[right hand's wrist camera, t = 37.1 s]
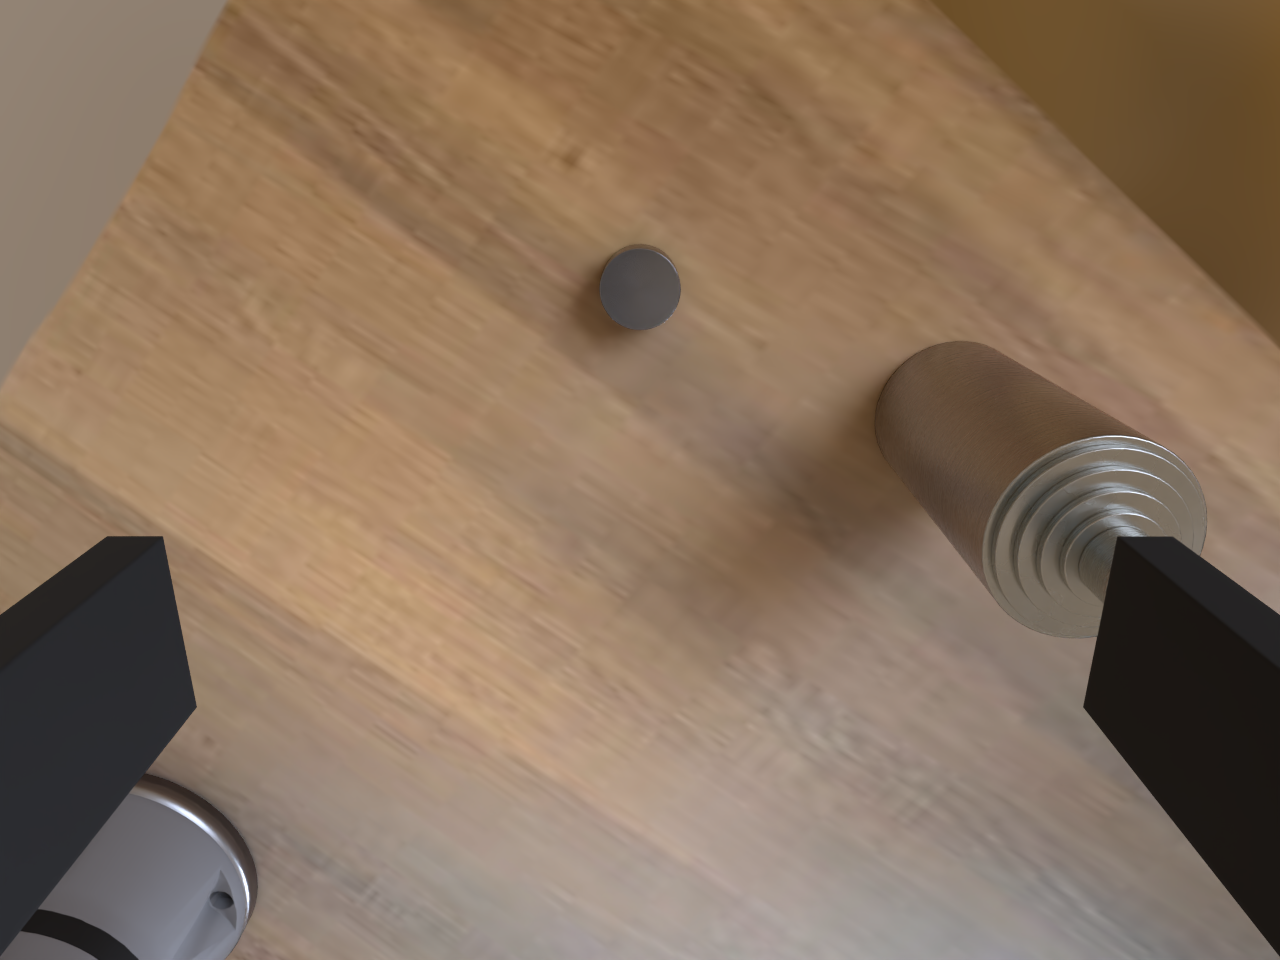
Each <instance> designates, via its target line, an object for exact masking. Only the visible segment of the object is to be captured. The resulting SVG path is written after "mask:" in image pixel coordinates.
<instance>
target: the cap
mask: <svg viewBox="0 0 1280 960" xmlns="http://www.w3.org/2000/svg"><path fill="white" fill-rule="evenodd" d="M680 292H681V287H680V279H679V276H678V273H677V270H676V267H675V265H674V263H673V262H672V260H671V259H670V258H669V257H668V256H667V255H666V254H665V253H664V252H662V251H661V250H659V249H658V248H656V247H653V246H650V245H644V244H636V245H630V246H627V247H625V248H623V249H621V250H619V251H618V252H616V253H615V254H614V255H613V256H612V257H611V258H610V259H609V261H608V262H607V264H606V266H605V268H604V270H603V273H602V277H601V281H600V298H601V302H602V304H603V307H604V309H605V310H606V312H607V313H608V315H609V316H610V317H611V318H612V319H613V320H614V321H615V322H617V323H618V324H620V325H622V326H624V327H626V328H629V329H633V330H647V329H651V328H654V327H657V326H659V325H660V324H662V323H664V322H665V321H666V320H667V319H668V318H669V317H670V316H671V315H672V314H673V312H674V311H675V309H676V307H677V305H678V302H679V298H680Z"/></svg>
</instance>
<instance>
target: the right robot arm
mask: <svg viewBox="0 0 1280 960" xmlns="http://www.w3.org/2000/svg"><path fill="white" fill-rule="evenodd" d="M196 707H197V706H196V701H195V696H194V691H193V686H192V681H191V676H190V671H189V666H188V661H187V656H186V651H185V646H184V641H183V636H182V630H181V625H180V620H179V615H178V610H177V605H176V600H175V595H174V590H173V585H172V580H171V575H170V570H169V565H168V560H167V555H166V550H165V545H164V540H163V536H107V537H106V538H104V539H103V540H102V541H100V542H99V543H98V544H96V545H95V546H93V547H92V548H91V549H89V550H88V551H87V552H85V553H84V554H83V555H81V556H80V557H78V558H77V559H76V560H74V561H73V562H72V563H70V564H69V565H68V566H66V567H65V568H64V569H62V570H61V571H59V572H58V573H57V574H55V575H54V576H53V577H51V578H50V579H49V580H47V581H46V582H44V583H43V584H42V585H40V586H39V587H38V588H36V589H35V590H34V591H32V592H31V593H30V594H28V595H27V596H25V597H24V598H23V599H21V600H20V601H19V602H17V603H16V604H15V605H13V606H12V607H10V608H9V609H8V610H6V611H5V612H4V613H2V614H1V615H0V960H224V959H225V958H226V957H227V956H228V955H229V954H230V953H231V952H232V950H233V949H234V947H235V946H236V944H237V943H238V941H239V939H240V937H241V935H242V933H243V931H244V929H245V927H246V925H247V923H248V921H249V919H250V917H251V915H252V912H253V910H254V907H255V903H256V898H257V888H258V886H257V875H256V869H255V865H254V862H253V859H252V856H251V854H250V852H249V849H248V847H247V846H246V844H245V842H244V840H243V839H242V837H241V836H240V834H239V833H238V831H237V830H236V829H235V828H234V826H233V825H232V824H231V823H230V822H229V821H228V820H227V819H226V818H225V817H224V816H223V815H222V814H221V813H220V812H219V811H218V810H217V809H216V808H214V807H213V806H212V805H211V804H209V803H208V802H207V801H205V800H204V799H202V798H201V797H199V796H198V795H196V794H194V793H193V792H191V791H189V790H187V789H185V788H183V787H181V786H179V785H177V784H175V783H172V782H170V781H167V780H165V779H162V778H159V777H156V776H153V775H148V774H144V773H145V772H146V771H147V770H148V768H149V767H150V766H151V765H152V763H153V762H154V761H155V759H156V758H157V757H158V756H159V754H160V753H161V752H162V751H163V749H164V748H165V747H166V745H167V744H168V743H169V742H170V740H171V739H172V738H173V737H174V735H175V734H176V733H177V732H178V730H179V729H180V728H181V726H182V725H183V724H184V723H185V721H186V720H187V719H188V718H189V716H190V715H191V714H192V712H193V711H194V710H195V709H196ZM1083 707H1084V709H1085V710H1086V711H1087V712H1088V714H1089V715H1090V716H1091V718H1092V719H1093V720H1094V721H1095V723H1096V724H1097V725H1098V726H1099V728H1100V729H1101V730H1102V732H1103V733H1104V734H1105V735H1106V737H1107V738H1108V739H1109V740H1110V742H1111V743H1112V744H1113V745H1114V747H1115V748H1116V749H1117V751H1118V752H1119V753H1120V754H1121V756H1122V757H1123V758H1124V759H1125V761H1126V762H1127V763H1128V765H1129V766H1130V767H1131V768H1132V770H1133V771H1134V772H1135V773H1136V775H1137V776H1138V777H1139V778H1140V780H1141V781H1142V782H1143V784H1144V785H1145V786H1146V787H1147V789H1148V790H1149V791H1150V792H1151V794H1152V795H1153V796H1154V798H1155V799H1156V800H1157V801H1158V803H1159V804H1160V805H1161V806H1162V808H1163V809H1164V810H1165V811H1166V813H1167V814H1168V815H1169V817H1170V818H1171V819H1172V820H1173V822H1174V823H1175V824H1176V825H1177V827H1178V828H1179V829H1180V831H1181V832H1182V833H1183V834H1184V836H1185V837H1186V838H1187V839H1188V841H1189V842H1190V843H1191V844H1192V846H1193V847H1194V848H1195V850H1196V851H1197V852H1198V853H1199V855H1200V856H1201V857H1202V858H1203V860H1204V861H1205V862H1206V864H1207V865H1208V866H1209V867H1210V869H1211V870H1212V871H1213V872H1214V874H1215V875H1216V876H1217V877H1218V879H1219V880H1220V881H1221V883H1222V884H1223V885H1224V886H1225V888H1226V889H1227V890H1228V891H1229V893H1230V894H1231V895H1232V897H1233V898H1234V899H1235V900H1236V902H1237V903H1238V904H1239V905H1240V907H1241V908H1242V909H1243V910H1244V912H1245V913H1246V914H1247V916H1248V917H1249V918H1250V919H1251V921H1252V922H1253V923H1254V924H1255V926H1256V927H1257V928H1258V930H1259V931H1260V932H1261V933H1262V935H1263V936H1264V937H1265V938H1266V940H1267V941H1268V942H1269V943H1270V945H1271V946H1272V947H1273V949H1274V950H1275V951H1276V952H1277V954H1278V955H1279V956H1280V615H1279V614H1278V613H1276V612H1275V611H1274V610H1272V609H1271V608H1270V607H1268V606H1267V605H1265V604H1264V603H1263V602H1261V601H1260V600H1259V599H1257V598H1256V597H1255V596H1253V595H1252V594H1250V593H1249V592H1248V591H1246V590H1245V589H1244V588H1242V587H1241V586H1240V585H1238V584H1237V583H1236V582H1234V581H1233V580H1231V579H1230V578H1229V577H1227V576H1226V575H1225V574H1223V573H1222V572H1221V571H1219V570H1218V569H1216V568H1215V567H1214V566H1212V565H1211V564H1210V563H1208V562H1207V561H1206V560H1204V559H1203V558H1202V557H1200V556H1199V555H1197V554H1196V553H1195V552H1193V551H1192V550H1191V549H1189V548H1188V547H1187V546H1185V545H1184V544H1182V543H1181V542H1180V541H1178V540H1177V539H1176V538H1174V537H1173V536H1117V540H1116V545H1115V550H1114V555H1113V560H1112V565H1111V570H1110V575H1109V580H1108V585H1107V590H1106V595H1105V600H1104V605H1103V610H1102V615H1101V620H1100V625H1099V630H1098V636H1097V641H1096V646H1095V651H1094V656H1093V661H1092V666H1091V671H1090V676H1089V681H1088V686H1087V691H1086V696H1085V701H1084V706H1083Z"/></svg>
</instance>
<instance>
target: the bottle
mask: <svg viewBox="0 0 1280 960" xmlns="http://www.w3.org/2000/svg"><path fill="white" fill-rule="evenodd" d="M875 431H876V437H877V441H878V444H879V447H880V450H881V452H882V454H883V456H884V457H885V459H886V460H887V462H888V463H889V464H890V466H891V467H892V468H893V470H894V471H895V472H896V473H897V475H898V476H899V477H900V479H901V480H902V481H903V482H904V484H905V485H906V486H907V488H908V489H909V490H910V491H911V493H912V494H913V495H914V497H915V498H916V499H917V500H918V502H919V503H920V504H921V506H922V507H923V508H924V509H925V511H926V512H927V513H928V514H929V516H930V517H931V518H932V520H933V521H934V522H935V523H936V525H937V526H938V527H939V529H940V530H941V531H942V532H943V534H944V535H945V536H946V538H947V539H948V540H949V541H950V543H951V544H952V545H953V547H954V548H955V549H956V550H957V552H958V553H959V554H960V556H961V557H962V558H963V559H964V561H965V562H966V563H967V564H968V566H969V567H970V568H971V570H972V571H973V572H974V573H975V575H976V576H977V577H978V579H979V580H980V581H981V582H982V584H983V585H984V586H985V588H986V589H987V590H988V591H989V593H990V594H991V595H992V597H993V598H994V599H995V600H996V602H997V603H998V604H999V606H1000V607H1001V608H1002V609H1003V610H1004V611H1005V612H1006V613H1007V614H1008V615H1009V616H1011V617H1012V618H1013V619H1015V620H1016V621H1017V622H1019V623H1021V624H1022V625H1024V626H1026V627H1028V628H1030V629H1032V630H1035V631H1037V632H1040V633H1043V634H1047V635H1051V636H1055V637H1063V638H1088V637H1097V636H1098V630H1099V625H1100V620H1101V615H1102V610H1103V605H1104V600H1105V595H1106V590H1107V585H1108V580H1109V575H1110V570H1111V565H1112V560H1113V555H1114V550H1115V545H1116V540H1117V536H1173V537H1174V538H1176V539H1177V540H1178V541H1180V542H1181V543H1182V544H1184V545H1185V546H1187V547H1188V548H1189V549H1191V550H1192V551H1193V552H1195V553H1196V554H1197V555H1199V556H1200V554H1201V551H1202V549H1203V545H1204V541H1205V537H1206V529H1207V509H1206V504H1205V499H1204V495H1203V492H1202V490H1201V487H1200V484H1199V482H1198V481H1197V479H1196V477H1195V475H1194V474H1193V472H1192V471H1191V470H1190V468H1189V467H1188V466H1187V465H1186V464H1185V462H1184V461H1182V460H1181V459H1180V458H1179V457H1178V456H1177V455H1176V454H1174V453H1173V452H1171V451H1170V450H1168V449H1166V448H1165V447H1163V446H1162V445H1160V444H1158V443H1156V442H1155V441H1153V440H1151V439H1149V438H1148V437H1146V436H1144V435H1143V434H1141V433H1139V432H1137V431H1136V430H1134V429H1132V428H1130V427H1129V426H1127V425H1125V424H1123V423H1122V422H1120V421H1118V420H1117V419H1115V418H1113V417H1111V416H1110V415H1108V414H1106V413H1104V412H1103V411H1101V410H1099V409H1097V408H1096V407H1094V406H1092V405H1091V404H1089V403H1087V402H1085V401H1084V400H1082V399H1080V398H1078V397H1077V396H1075V395H1073V394H1071V393H1070V392H1068V391H1066V390H1065V389H1063V388H1061V387H1059V386H1058V385H1056V384H1054V383H1052V382H1051V381H1049V380H1047V379H1045V378H1044V377H1042V376H1040V375H1039V374H1037V373H1035V372H1033V371H1032V370H1030V369H1028V368H1026V367H1025V366H1023V365H1021V364H1019V363H1018V362H1016V361H1014V360H1013V359H1011V358H1009V357H1007V356H1006V355H1004V354H1002V353H1000V352H999V351H997V350H995V349H993V348H991V347H988V346H986V345H983V344H979V343H974V342H967V341H955V342H947V343H943V344H939V345H935V346H932V347H930V348H927V349H925V350H923V351H921V352H919V353H917V354H916V355H914V356H913V357H911V358H910V359H908V360H907V361H906V362H905V363H904V364H903V365H901V366H900V367H899V368H898V369H897V371H896V372H895V373H894V374H893V375H892V377H891V378H890V379H889V381H888V382H887V384H886V386H885V388H884V389H883V391H882V393H881V396H880V399H879V401H878V405H877V410H876V417H875Z"/></svg>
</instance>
